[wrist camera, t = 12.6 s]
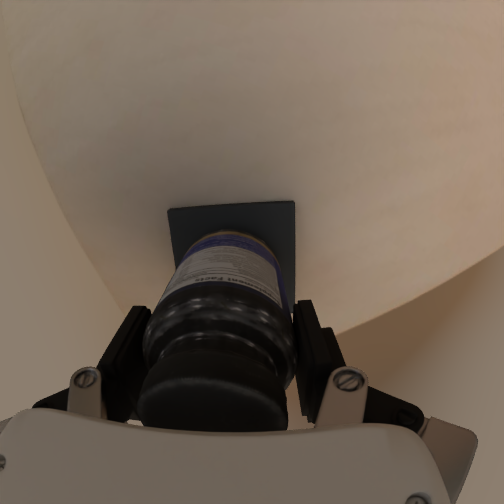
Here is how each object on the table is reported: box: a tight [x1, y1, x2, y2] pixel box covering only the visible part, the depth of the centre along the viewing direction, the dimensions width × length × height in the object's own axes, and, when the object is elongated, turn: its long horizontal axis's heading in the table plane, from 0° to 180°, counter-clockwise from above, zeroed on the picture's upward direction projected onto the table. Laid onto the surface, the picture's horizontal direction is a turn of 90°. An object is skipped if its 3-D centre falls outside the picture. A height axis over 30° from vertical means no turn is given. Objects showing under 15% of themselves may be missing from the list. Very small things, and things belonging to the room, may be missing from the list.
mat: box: [167, 201, 295, 313], centre depth 19 cm, size 8×8×1 cm
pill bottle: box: [137, 229, 299, 432], centre depth 12 cm, size 6×6×11 cm
